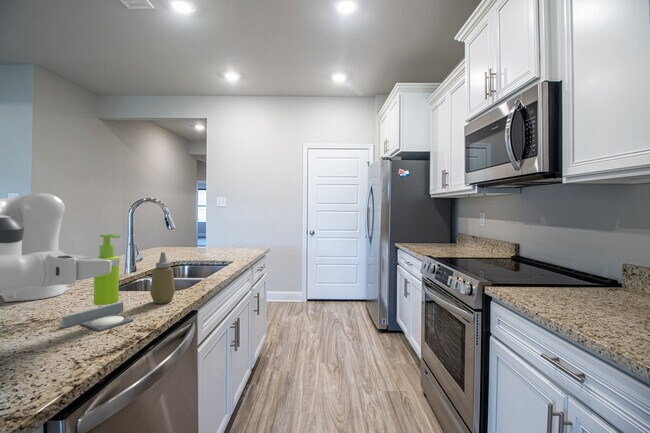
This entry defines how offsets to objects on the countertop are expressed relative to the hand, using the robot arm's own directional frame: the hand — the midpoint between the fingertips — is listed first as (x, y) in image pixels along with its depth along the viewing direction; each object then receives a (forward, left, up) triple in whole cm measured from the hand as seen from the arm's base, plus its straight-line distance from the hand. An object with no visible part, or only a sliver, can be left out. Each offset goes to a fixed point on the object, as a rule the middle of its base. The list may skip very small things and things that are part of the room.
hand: (110, 260), depth 90 cm
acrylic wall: (-7, -1, -18) cm, 20 cm away
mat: (0, -1, -18) cm, 18 cm away
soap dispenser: (0, -1, -12) cm, 12 cm away
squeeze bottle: (-5, +20, -18) cm, 28 cm away
